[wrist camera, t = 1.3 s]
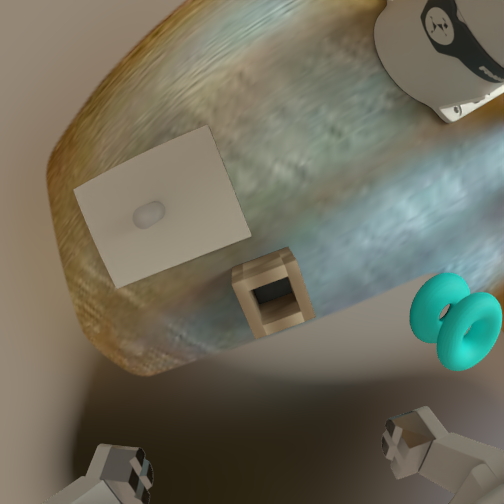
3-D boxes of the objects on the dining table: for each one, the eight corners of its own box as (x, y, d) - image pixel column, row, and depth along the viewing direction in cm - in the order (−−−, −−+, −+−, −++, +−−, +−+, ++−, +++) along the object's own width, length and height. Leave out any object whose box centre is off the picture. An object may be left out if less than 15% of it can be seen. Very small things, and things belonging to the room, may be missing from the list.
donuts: (451, 311, 26) (512, 288, 26) (407, 277, 35) (464, 263, 35) (438, 386, 28) (496, 359, 28) (403, 344, 38) (457, 326, 38)
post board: (208, 126, 30) (202, 117, 24) (250, 233, 33) (253, 247, 27) (79, 188, 31) (51, 193, 25) (120, 284, 34) (101, 305, 28)
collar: (288, 246, 34) (296, 260, 29) (305, 297, 35) (315, 317, 30) (232, 267, 34) (231, 284, 29) (253, 317, 36) (255, 339, 31)
